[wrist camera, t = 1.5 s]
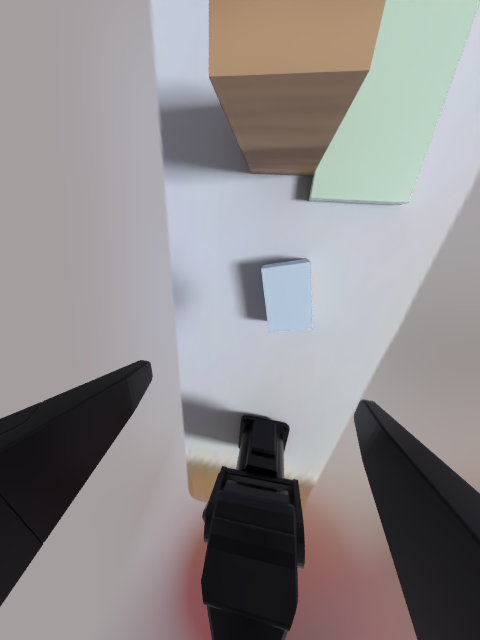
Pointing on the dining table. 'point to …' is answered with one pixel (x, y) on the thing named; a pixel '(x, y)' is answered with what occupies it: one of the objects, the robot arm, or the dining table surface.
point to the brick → (288, 295)
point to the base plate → (396, 104)
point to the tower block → (289, 74)
